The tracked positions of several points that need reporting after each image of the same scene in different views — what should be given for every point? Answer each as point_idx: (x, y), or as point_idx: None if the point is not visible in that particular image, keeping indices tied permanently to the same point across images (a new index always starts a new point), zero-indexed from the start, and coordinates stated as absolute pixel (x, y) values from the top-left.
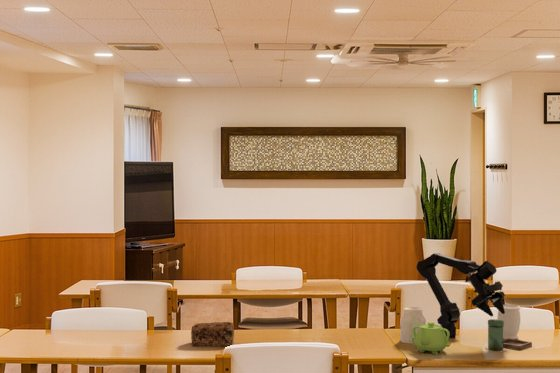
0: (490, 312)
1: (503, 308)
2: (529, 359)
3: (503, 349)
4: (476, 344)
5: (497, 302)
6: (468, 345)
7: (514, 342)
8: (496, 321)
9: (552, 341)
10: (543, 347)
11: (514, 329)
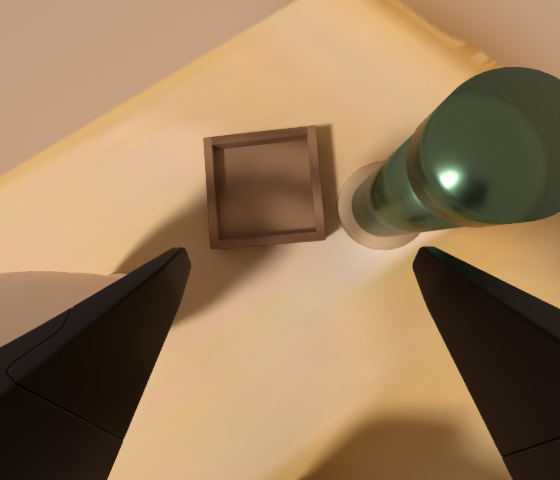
0: (477, 275)
1: (131, 278)
2: (413, 33)
3: (358, 183)
4: (338, 332)
5: (27, 472)
6: (383, 345)
7: (226, 213)
8: (546, 114)
9: (55, 156)
10: (181, 117)
11: (99, 278)
